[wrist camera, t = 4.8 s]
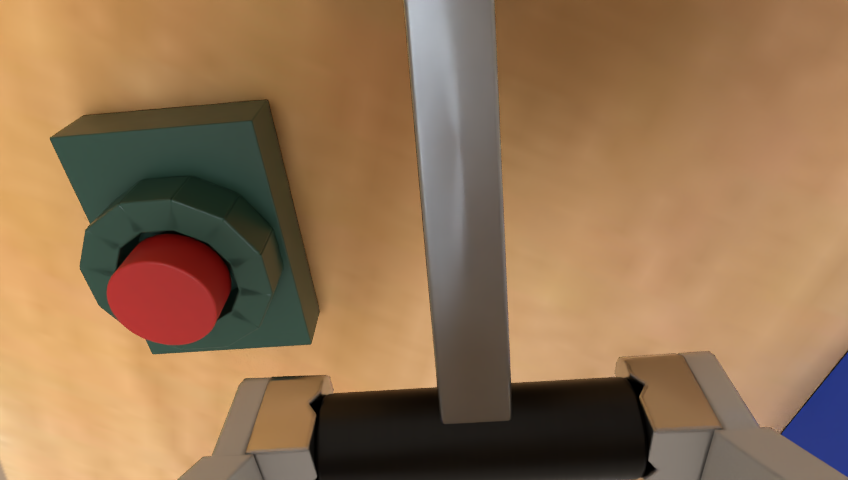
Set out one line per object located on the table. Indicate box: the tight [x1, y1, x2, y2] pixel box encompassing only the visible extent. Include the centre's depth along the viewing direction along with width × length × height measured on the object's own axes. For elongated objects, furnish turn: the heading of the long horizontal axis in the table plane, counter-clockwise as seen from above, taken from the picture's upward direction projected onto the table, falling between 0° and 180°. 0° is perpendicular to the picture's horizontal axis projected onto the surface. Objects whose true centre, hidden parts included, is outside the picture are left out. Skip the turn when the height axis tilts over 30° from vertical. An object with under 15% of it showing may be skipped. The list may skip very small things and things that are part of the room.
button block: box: [50, 100, 320, 354], centre depth 21 cm, size 10×7×4 cm
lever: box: [316, 0, 647, 480], centre depth 7 cm, size 13×5×2 cm, turn 6°
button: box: [107, 234, 231, 345], centre depth 19 cm, size 4×4×2 cm
